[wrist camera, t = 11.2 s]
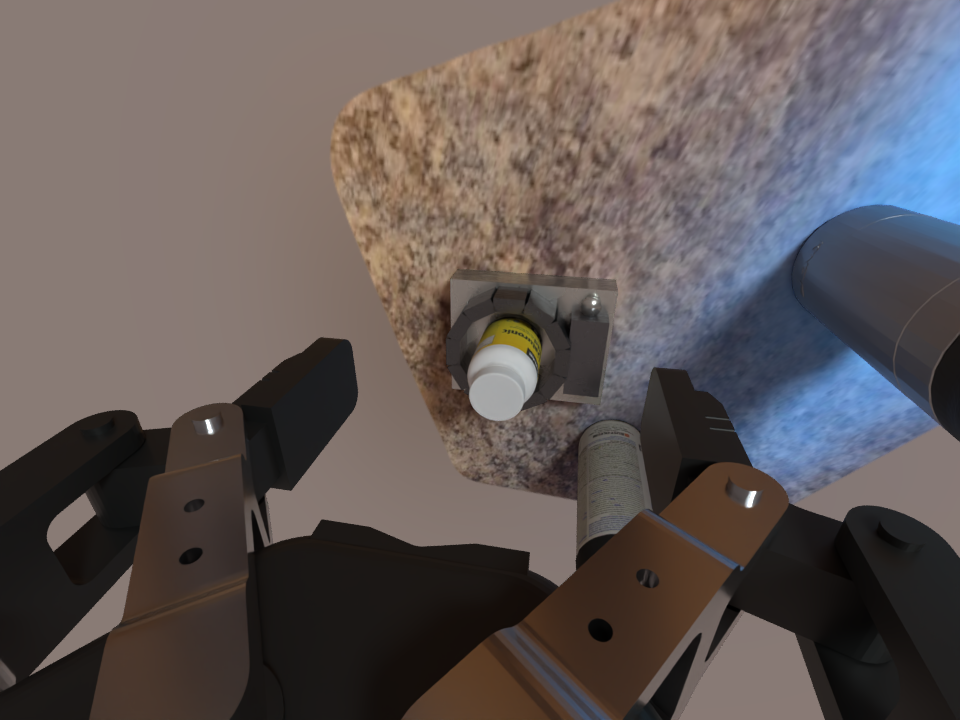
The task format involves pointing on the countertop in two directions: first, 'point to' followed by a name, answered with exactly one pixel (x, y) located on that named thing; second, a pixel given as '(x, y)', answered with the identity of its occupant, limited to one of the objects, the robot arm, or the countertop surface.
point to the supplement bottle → (504, 367)
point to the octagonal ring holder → (556, 314)
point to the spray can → (608, 484)
